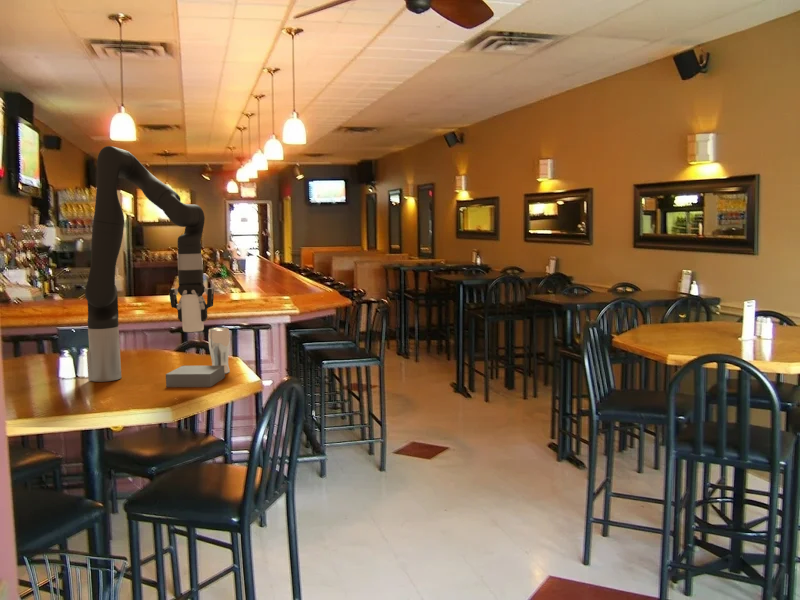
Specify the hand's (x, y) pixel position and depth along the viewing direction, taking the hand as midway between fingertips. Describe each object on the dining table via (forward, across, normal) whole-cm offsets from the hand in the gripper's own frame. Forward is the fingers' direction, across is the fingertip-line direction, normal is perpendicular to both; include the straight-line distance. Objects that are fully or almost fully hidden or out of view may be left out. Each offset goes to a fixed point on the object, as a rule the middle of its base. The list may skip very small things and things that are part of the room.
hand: (193, 321), depth 223 cm
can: (+3, 0, 0) cm, 3 cm away
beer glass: (+20, +3, +15) cm, 25 cm away
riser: (+20, 0, 0) cm, 20 cm away
